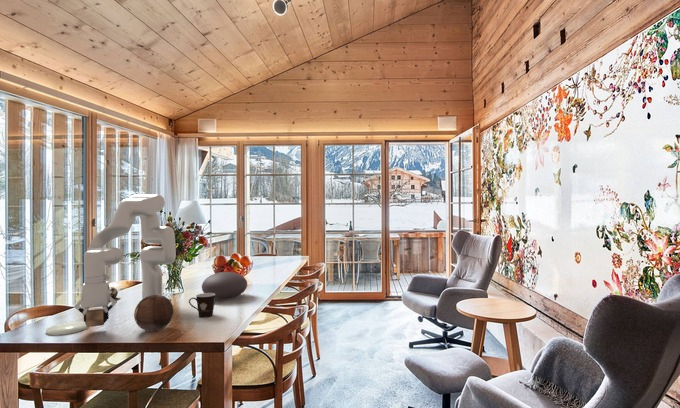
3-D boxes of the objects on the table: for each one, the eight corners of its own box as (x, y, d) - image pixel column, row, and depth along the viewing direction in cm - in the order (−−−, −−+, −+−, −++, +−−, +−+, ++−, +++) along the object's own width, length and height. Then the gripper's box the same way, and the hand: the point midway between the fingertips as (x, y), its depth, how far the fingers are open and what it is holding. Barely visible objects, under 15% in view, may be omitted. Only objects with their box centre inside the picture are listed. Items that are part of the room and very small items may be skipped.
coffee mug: (219, 314, 187) (219, 293, 187) (206, 319, 180) (205, 297, 180) (201, 311, 192) (200, 291, 192) (187, 316, 184) (187, 295, 185)
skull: (109, 301, 211) (99, 286, 213) (99, 312, 213) (88, 298, 215) (127, 295, 223) (116, 281, 225) (116, 306, 225) (106, 293, 227)
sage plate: (92, 322, 176) (92, 320, 176) (83, 332, 161) (83, 329, 161) (53, 326, 170) (53, 323, 170) (40, 337, 156) (40, 334, 156)
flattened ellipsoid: (202, 295, 228) (202, 270, 228) (245, 292, 236) (245, 267, 236) (200, 305, 205) (200, 277, 205) (248, 301, 212) (248, 274, 212)
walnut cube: (106, 320, 166) (105, 307, 166) (103, 325, 161) (102, 311, 160) (90, 322, 164) (89, 308, 164) (86, 327, 159) (85, 312, 158)
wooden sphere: (174, 323, 173) (174, 290, 174) (171, 333, 159) (171, 297, 159) (137, 327, 169) (137, 292, 169) (131, 338, 154) (130, 300, 155)
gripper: (120, 276, 168) (121, 317, 169) (73, 279, 162) (75, 322, 163) (116, 279, 161) (118, 322, 162) (68, 283, 155) (69, 327, 156)
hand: (96, 321), depth 162 cm, fingers closed on walnut cube, 6 cm apart
